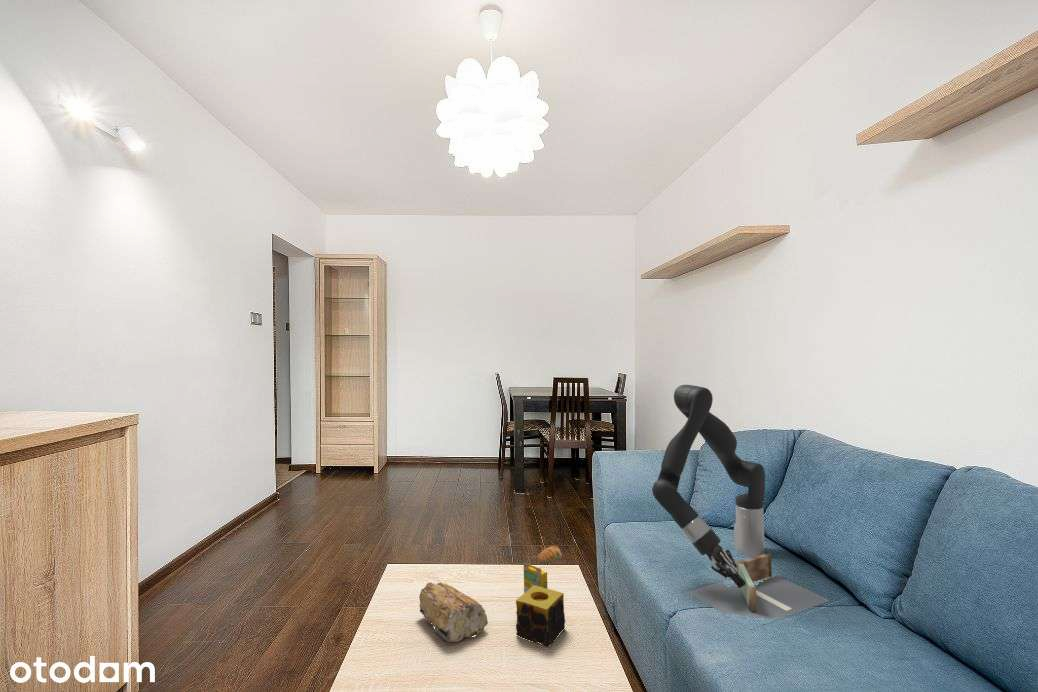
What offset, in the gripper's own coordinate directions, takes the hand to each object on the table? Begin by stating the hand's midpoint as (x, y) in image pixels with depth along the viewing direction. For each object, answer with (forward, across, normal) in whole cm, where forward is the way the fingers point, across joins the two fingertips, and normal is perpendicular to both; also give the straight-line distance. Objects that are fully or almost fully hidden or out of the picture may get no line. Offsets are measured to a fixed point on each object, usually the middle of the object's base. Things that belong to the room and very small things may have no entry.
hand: (742, 585), depth 148 cm
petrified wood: (-40, -57, +50) cm, 86 cm away
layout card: (+6, +6, +2) cm, 8 cm away
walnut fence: (+4, +18, +3) cm, 18 cm away
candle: (-24, -46, +34) cm, 62 cm away
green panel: (+3, +4, +3) cm, 6 cm away
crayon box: (-31, -34, +41) cm, 62 cm away
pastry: (-41, -6, +50) cm, 65 cm away
